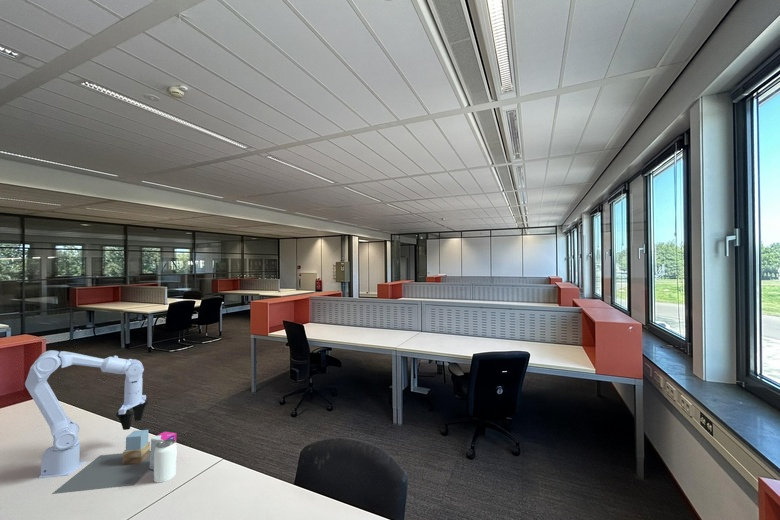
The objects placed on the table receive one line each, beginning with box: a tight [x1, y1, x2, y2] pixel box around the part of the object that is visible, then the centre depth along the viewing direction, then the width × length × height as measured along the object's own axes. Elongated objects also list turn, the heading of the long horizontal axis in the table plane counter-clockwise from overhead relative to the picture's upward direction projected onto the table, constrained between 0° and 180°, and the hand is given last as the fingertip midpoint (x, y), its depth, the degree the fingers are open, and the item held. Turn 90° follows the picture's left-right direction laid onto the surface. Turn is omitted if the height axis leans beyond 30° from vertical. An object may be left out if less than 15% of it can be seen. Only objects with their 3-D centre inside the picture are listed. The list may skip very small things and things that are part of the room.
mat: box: [51, 452, 150, 495], centre depth 116 cm, size 24×22×1 cm
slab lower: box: [123, 448, 151, 465], centre depth 122 cm, size 6×6×2 cm
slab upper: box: [122, 441, 151, 459], centre depth 122 cm, size 6×6×2 cm
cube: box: [125, 429, 149, 451], centre depth 122 cm, size 5×5×5 cm
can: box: [153, 439, 178, 483], centre depth 112 cm, size 6×6×12 cm
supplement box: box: [149, 431, 177, 471], centre depth 118 cm, size 6×6×12 cm
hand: (132, 424), depth 129 cm, fingers open, 7 cm apart
